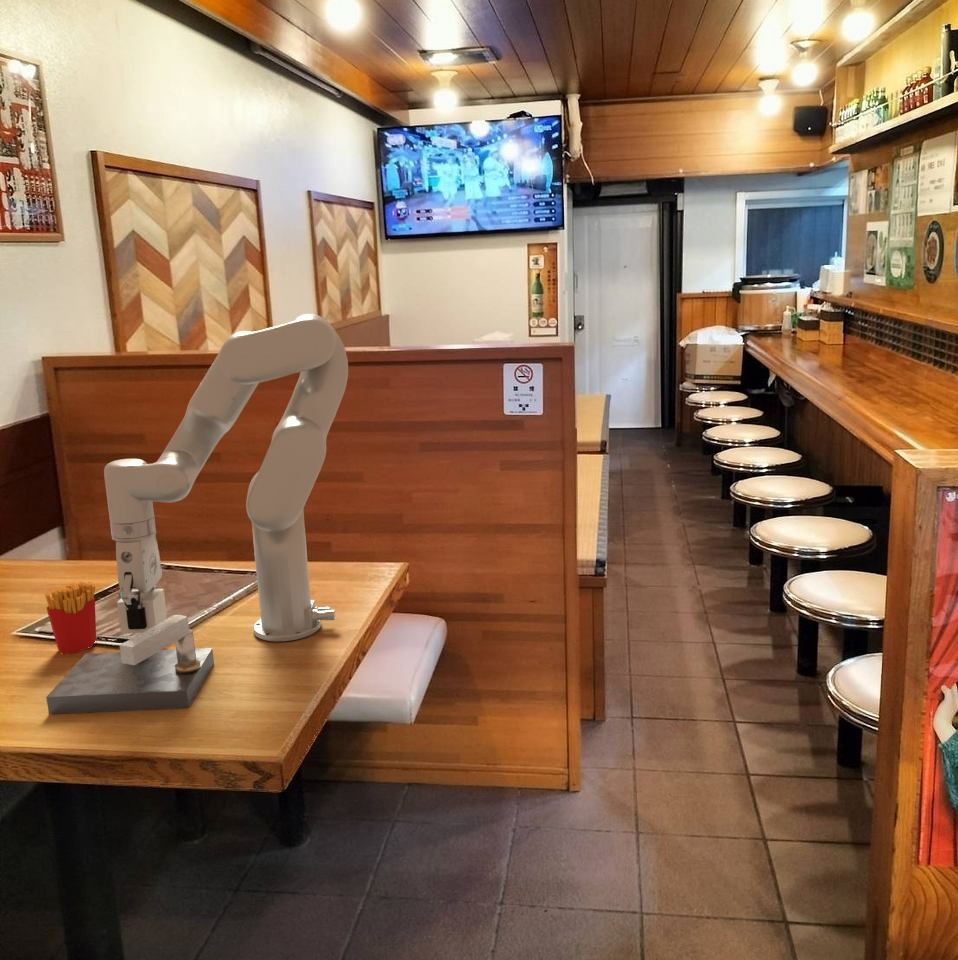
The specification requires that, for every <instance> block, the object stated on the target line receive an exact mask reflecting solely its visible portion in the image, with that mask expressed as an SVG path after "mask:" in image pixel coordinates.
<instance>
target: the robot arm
mask: <svg viewBox="0 0 958 960" xmlns="http://www.w3.org/2000/svg"><path fill="white" fill-rule="evenodd" d="M297 373H299V377H298V379H297V382H296V384H295V387H294V390H293V393H292V395H291V397H290V399H289V401H288V404H287V406H286V408H285V410H284V413H283V415H282V417H281V419H280V420H279V422H278V424H277V426H276V427H275V429H274V431H273V433H272V436H271V441H270V443H269V444H270V445H269V447H268V449H267V451H266V454H265V456H264V459H263V462H262V463H261V465H260V468H259V470H258V471H257V472H256V473H255V474H254V476H253V477H252V478H251V481H250V483H249V485H248V488H247V494H246V496H247V497H246V500H245V501H246V503H245V508H246V513H247V516H248V518H249V520H250V521H251V527H252V528H251V529H252V539H253V550H254V551H253V552H254V561H255V572H256V581H257V591H258V593H257V594H258V602H259V610H260V618H259V619H258V620H257V621H256V622H255V623H254V625H253V634H254V635H255V636H256V637H257V638H259V639H260V640H263V641H269V642H289V641H290V642H291V641H296V640H300V639H304V638H306V637H308V636H312V635H313V634H315V633H316V632H317V631H319V630H320V628H321V626H322V621H326V622H327V621H336V611H335V609H331V606H323V607H318V606H317V605H316V602H315V599H311V588H310V587H311V586H310V576H309V575H310V573H309V564H308V553H307V552H308V550H307V540H306V528H305V527H306V526H305V513H304V512H305V511H304V508H305V505H306V503H307V501H308V499H309V496H310V494H311V492H312V490H313V488H314V485H315V483H316V481H317V480H318V476H319V474H320V473H321V470H322V467H323V465H324V462H325V459H326V455H327V438H328V437H327V436H328V434H329V431H330V429H331V427H332V424H333V422H334V420H335V418H336V415H337V412H338V409H339V407H340V404H341V403H342V399H343V396H344V394H345V392H346V388H347V383H348V378H349V362H348V356H347V351H346V349H345V345H344V343H343V341H342V339H341V338H340V336H339V334H338V333H337V331H336V329H335V328H334V327H333V326H332V324H330V322H329V321H328V320H327V319H326V318H324V317H322V316H320V315H319V314H314V313H305V314H302V315H299V316H298V317H295V318H294V320H292V321H289V322H287V323H283V324H279V325H276V326H272V327H268V328H265V329H261V330H256V331H249V330H241V331H237V332H235V333H233V334H232V335H230V336H229V337H228V338H227V339H226V340H225V341H224V343H223V345H222V346H221V348H220V350H219V352H218V353H217V355H216V357H215V358H214V361H213V362H212V363H211V366H210V367H209V368H208V370H207V372H206V373H205V375H204V376H203V379H201V382H200V383H199V385H198V387H197V389H196V390H195V392H194V393H193V394H192V397H190V400H189V402H188V404H187V407H186V411H185V414H184V417H183V418H182V419H181V420H182V421H181V422H180V423H179V425H178V427H177V429H176V430H175V432H174V434H173V436H172V437H171V438H170V440H169V442H168V444H167V445H166V447H165V449H164V450H163V452H162V453H161V455H160V456H159V458H158V459H157V461H156V462H153V463H148V462H146V461H145V460H143V459H141V458H123V459H116V460H113V461H111V462H109V463H107V464H106V465H105V466H104V469H103V470H104V471H103V474H104V475H103V477H104V484H105V492H106V493H105V494H106V500H107V501H106V502H107V509H108V514H109V515H108V516H109V517H108V518H109V525H110V532H111V539H112V540H113V541H115V558H116V560H115V561H116V570H117V581H118V588H119V591H120V592H121V593H122V596H121V598H122V600H123V601H124V604H125V609H126V614H127V622H128V628H129V629H145V628H146V627H147V622H146V613H145V607H142V606H143V593H148V592H149V591H150V590H151V589H158V586H157V584H158V582H159V581H161V579H162V575H163V570H162V564H161V563H162V562H161V558H160V550H159V546H158V540H157V538H156V535H157V528H156V519H155V511H154V505H153V504H154V503H153V502H157V503H158V502H160V503H176V502H179V501H182V500H184V499H185V498H186V497H187V496H188V495H189V493H190V492H191V490H192V488H193V486H194V483H195V482H196V479H197V477H198V476H199V474H200V472H201V471H202V469H203V467H204V466H205V464H206V462H207V460H208V459H209V458H210V456H211V454H212V453H213V451H214V450H215V448H216V446H217V445H218V443H219V441H221V439H222V438H223V437H224V435H225V434H226V433H228V432H229V431H230V430H231V428H232V427H233V426H234V424H235V422H237V420H238V418H239V416H240V414H241V413H242V412H243V410H244V407H245V406H246V405H247V403H248V402H249V400H250V398H251V397H252V395H253V393H254V391H255V390H256V389H257V387H258V385H259V384H260V383H263V382H268V381H271V380H272V381H273V380H276V379H280V378H283V377H286V376H290V375H295V374H297ZM133 589H138V591H132V590H133ZM132 595H138V601H137V600H136V599H135V598H133V596H132Z"/></svg>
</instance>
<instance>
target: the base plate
mask: <svg viewBox="0 0 958 960" xmlns="http://www.w3.org/2000/svg"><path fill="white" fill-rule="evenodd" d="M195 651H196V660H199V661H200V668H199V669H197V670H195V671H193V672H189V673H179V672H176V670H175V665H176V664H177V663H178V661H177V654H176V649H162V650H160V651H159V652H157V653H155V654H153V655H152V656H150V657H148V658H147V659H145V660H143V661H141V662H140V663H138V664H136V665H130V664H124V663H122V659H121V652H120V651H113V652H112V651H111V652H92V653H84V654H83V656H82V657H81V658H80V659H79V660H78V661H77V662H76V664H75V665H73V667H72V668H71V669H70V670H69V671H68V672H67V673H66V674H65V676H64V677H63V678H62V679H61V680H60V681H59V682H58V683H57V685H55V686H54V688H53V689H52V690H51V691H50V692H49V693H48V695H47V696H46V697H45V698H46V704H47V710H48V714H49V715H60V714H62V715H63V714H84V713H103V712H104V713H106V712H126V711H129V712H130V711H146V710H147V711H150V710H169V709H171V710H173V709H189V708H190V706H191V704H192V703H193V701H194V700H195V698H196V696H197V694H198V693H199V691H200V689H201V687H202V686H201V685H203V684H204V682H205V681H206V679H207V676H208V675H209V674H210V672H211V669H212V668H213V667H214V665H215V658H214V651H213V647H205V648H203V647H202V648H201V647H200V648H198V647H197V648H195ZM213 664H214V665H213ZM209 671H210V672H209Z"/></svg>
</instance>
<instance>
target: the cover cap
mask: <svg viewBox="0 0 958 960" xmlns="http://www.w3.org/2000/svg"><path fill="white" fill-rule="evenodd" d="M135 589H136V590H135ZM135 589H132V591H138V589H137V588H135ZM132 596H133V598H135V599H136V600H137V601H138V595H132ZM116 604H117V613H118V622H119V628H120V629H119V630H120V634H141V633H142V632H144V631H146V630H148V629H150V628H152V627H153V626H155V625H157V624H159V623H161V622H163V621H164V620H166V619H168V617H167V616H168V615H167V606H166V599H165V588H157V589H151V590H150V591H149V592H148V593H143V606H142V607H145V613H146V622H147V627H146V628H145V629H129V628H128V622H127V614H126V609H125V604H124V601H123V600H122V598H121V599H120V598H119V600H118V601H117V602H116Z"/></svg>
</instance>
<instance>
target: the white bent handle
mask: <svg viewBox="0 0 958 960" xmlns="http://www.w3.org/2000/svg"><path fill="white" fill-rule="evenodd" d="M172 644H175V650H176V654H177V661H178V663H177V664H176V665H175V670H176V672H179V673H189V672H193V671H195V670H197V669H199V668H200V661H199V660H196V651H195V649H196V645H195V635H194V630H192V629H190V625H189V617H188V616H187V615H181V614H173V615H171V616H170V617H167V619H166V620H164V621H163V622H161V623H159V624H157V625H155V626H153V627H152V628H150V629H148V630H146V631H144V632H142V633H138V634H137V635H135V636H133V637H131V638H129V639H128V640H126V641H124V642H122V643H121V644H119V652H121V659H122V663H124V664H130V665H136V664H138V663H140V662H141V661H143V660H145V659H147V658H148V657H150V656H152V655H153V654H155V653H157V652H159V651H160V650H165V648H167V647H169V646H171V645H172Z"/></svg>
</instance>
